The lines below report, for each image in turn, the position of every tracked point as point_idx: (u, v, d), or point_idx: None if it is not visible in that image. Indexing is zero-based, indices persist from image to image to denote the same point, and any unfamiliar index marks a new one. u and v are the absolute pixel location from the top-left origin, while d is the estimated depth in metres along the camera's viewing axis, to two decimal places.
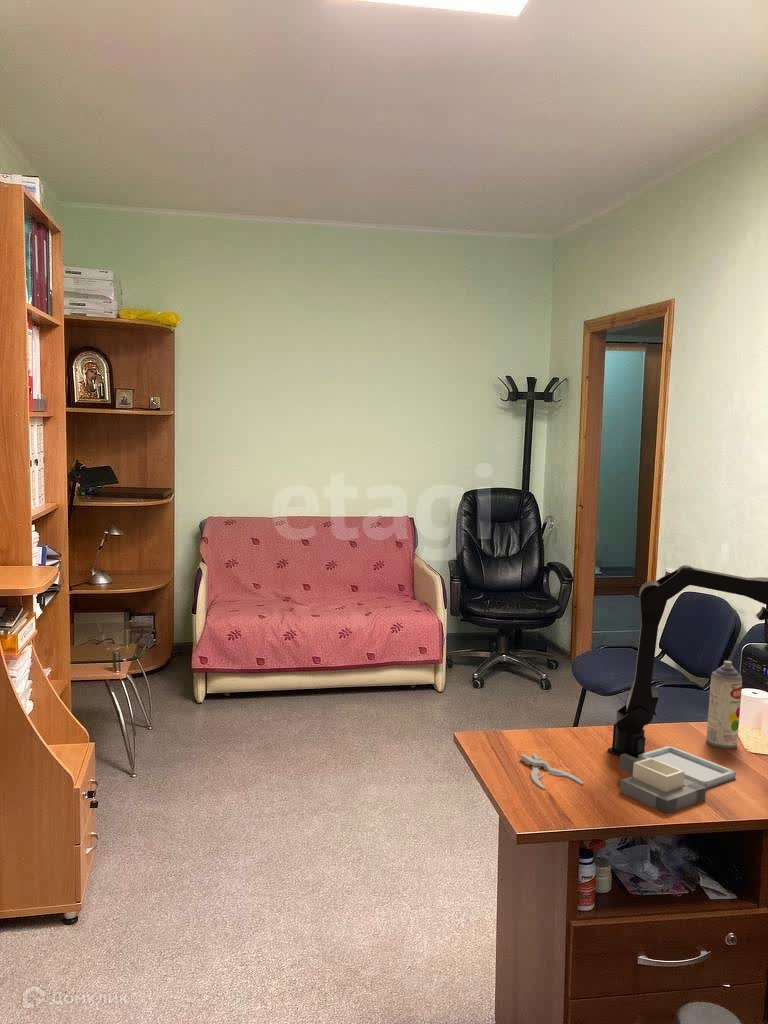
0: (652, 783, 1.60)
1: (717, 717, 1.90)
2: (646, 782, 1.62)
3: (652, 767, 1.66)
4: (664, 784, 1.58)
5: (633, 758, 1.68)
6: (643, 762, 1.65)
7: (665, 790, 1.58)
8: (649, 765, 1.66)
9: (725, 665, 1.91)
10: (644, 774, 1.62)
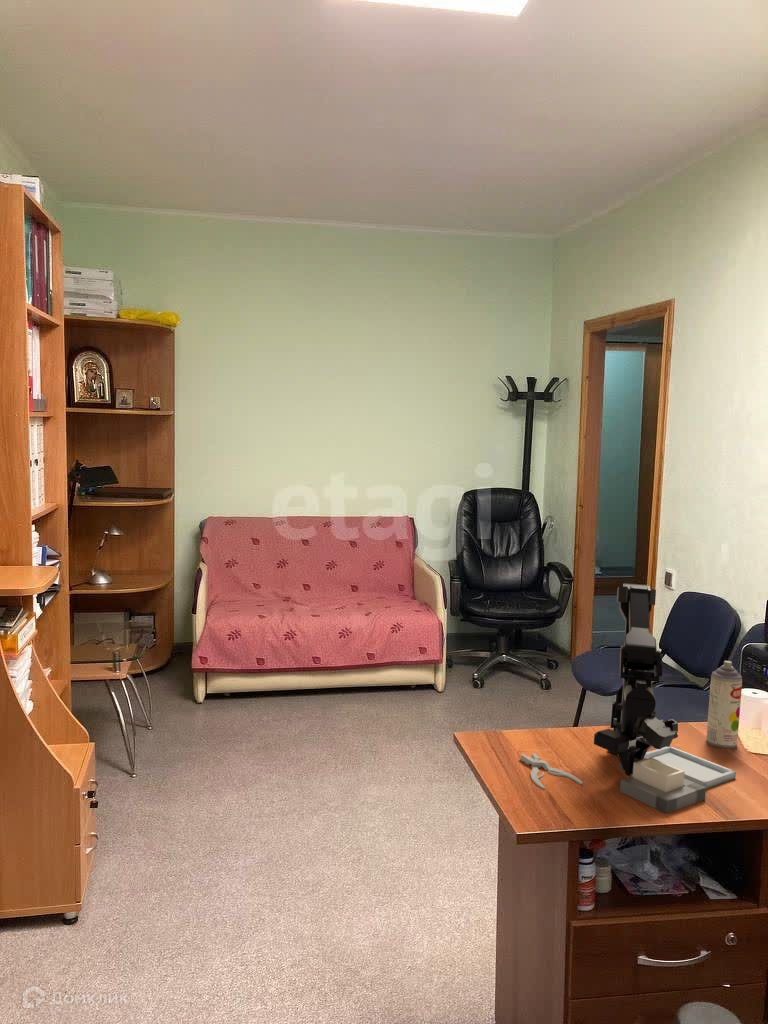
0: (652, 783, 1.60)
1: (717, 717, 1.90)
2: (646, 782, 1.62)
3: (652, 767, 1.66)
4: (664, 784, 1.58)
5: None
6: (643, 762, 1.65)
7: (665, 790, 1.58)
8: (649, 765, 1.66)
9: (725, 665, 1.91)
10: (644, 774, 1.62)
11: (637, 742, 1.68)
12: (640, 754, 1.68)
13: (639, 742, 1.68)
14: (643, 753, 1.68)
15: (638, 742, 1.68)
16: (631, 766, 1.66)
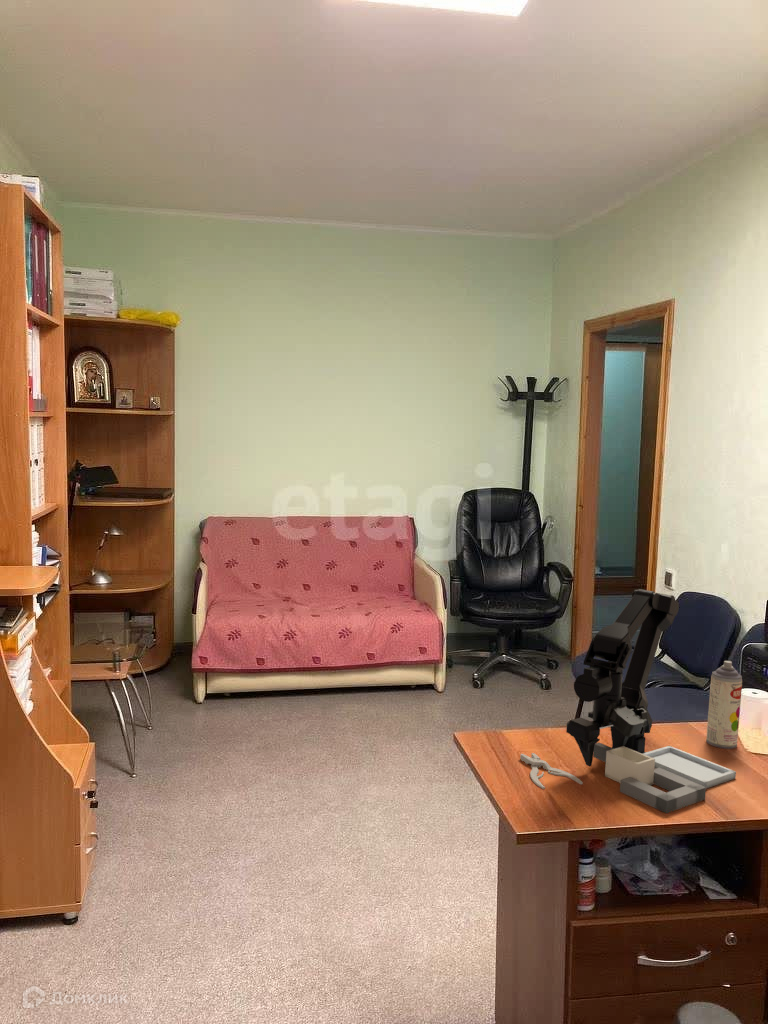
0: (623, 770, 1.66)
1: (717, 717, 1.90)
2: (618, 769, 1.67)
3: (624, 755, 1.72)
4: (635, 771, 1.64)
5: (606, 747, 1.73)
6: (616, 750, 1.71)
7: (636, 777, 1.64)
8: (622, 753, 1.72)
9: (725, 665, 1.90)
10: (616, 762, 1.68)
11: None
12: (622, 739, 1.76)
13: None
14: (625, 738, 1.76)
15: None
16: (591, 757, 1.70)
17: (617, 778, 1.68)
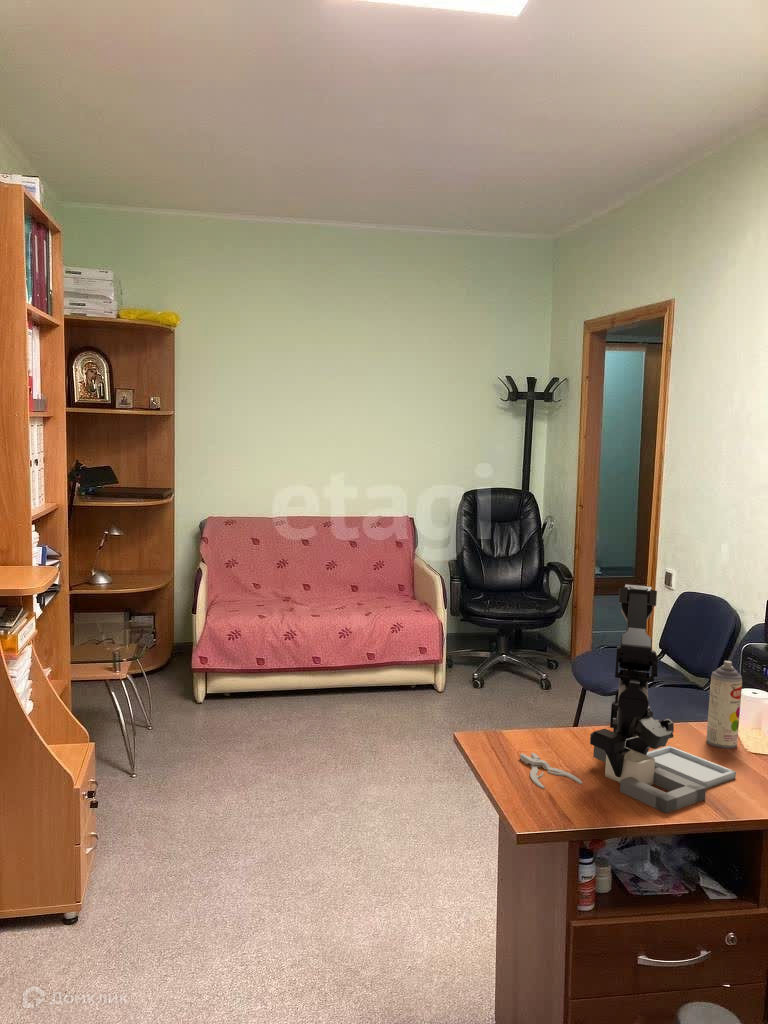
0: (623, 770, 1.66)
1: (717, 717, 1.90)
2: None
3: (624, 755, 1.72)
4: (635, 771, 1.64)
5: None
6: None
7: (636, 777, 1.64)
8: None
9: (725, 665, 1.91)
10: None
11: (639, 740, 1.70)
12: (642, 752, 1.70)
13: (641, 740, 1.70)
14: (645, 751, 1.70)
15: (640, 740, 1.70)
16: (621, 768, 1.66)
17: (617, 778, 1.68)
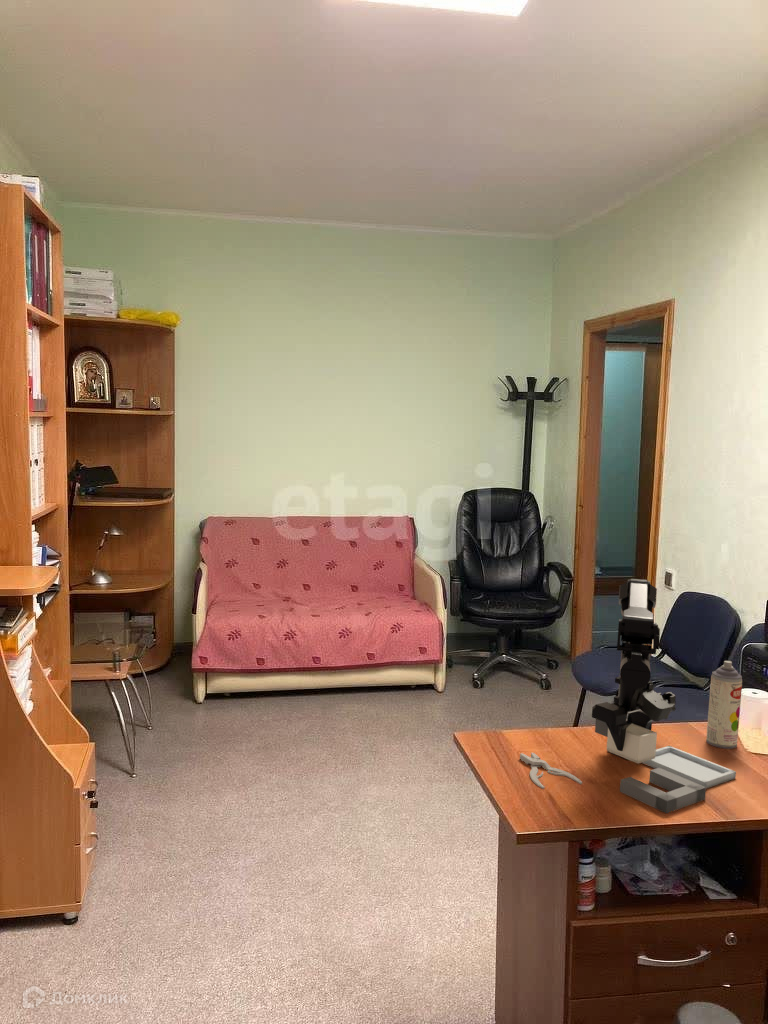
0: (625, 744, 1.66)
1: (717, 717, 1.90)
2: None
3: (626, 730, 1.71)
4: (637, 744, 1.63)
5: None
6: None
7: (638, 750, 1.63)
8: None
9: (725, 665, 1.90)
10: None
11: (641, 714, 1.70)
12: (644, 726, 1.69)
13: (643, 714, 1.69)
14: (647, 725, 1.69)
15: (642, 714, 1.70)
16: (623, 741, 1.65)
17: (619, 752, 1.67)
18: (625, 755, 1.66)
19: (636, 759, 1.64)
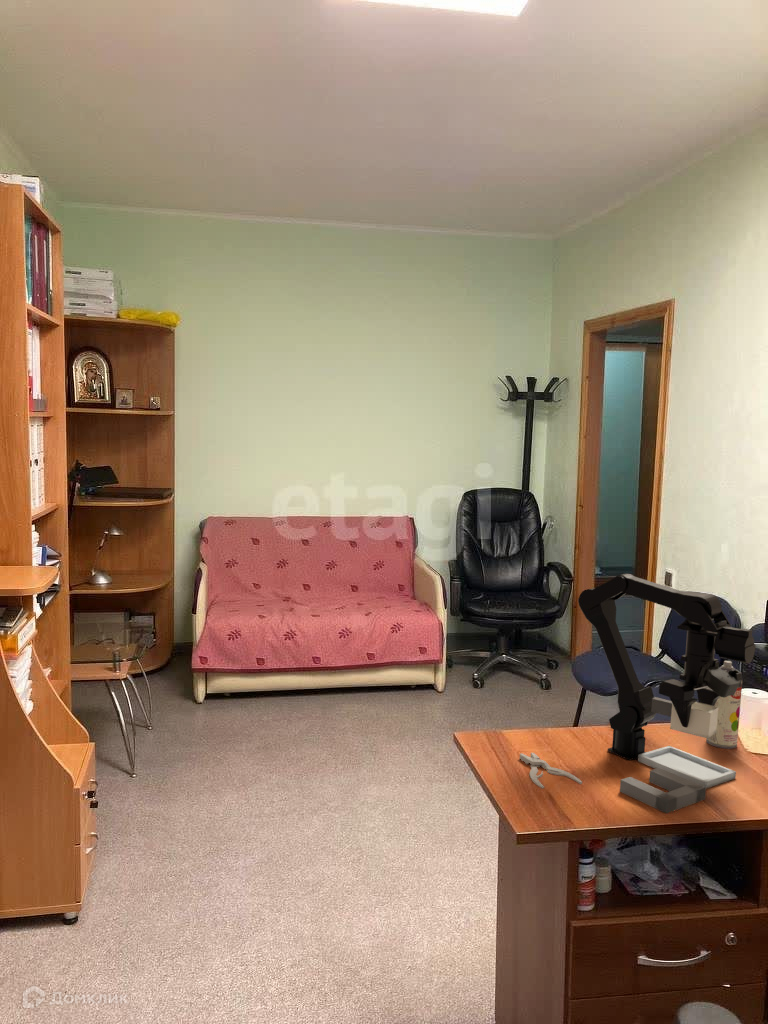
0: (693, 721, 1.70)
1: (717, 717, 1.90)
2: None
3: None
4: (707, 720, 1.68)
5: (665, 700, 1.76)
6: None
7: (708, 726, 1.68)
8: None
9: (725, 665, 1.91)
10: None
11: (707, 691, 1.74)
12: (710, 703, 1.73)
13: (709, 691, 1.74)
14: (713, 702, 1.73)
15: (708, 691, 1.74)
16: (688, 717, 1.69)
17: (685, 729, 1.71)
18: (693, 732, 1.70)
19: (706, 735, 1.68)
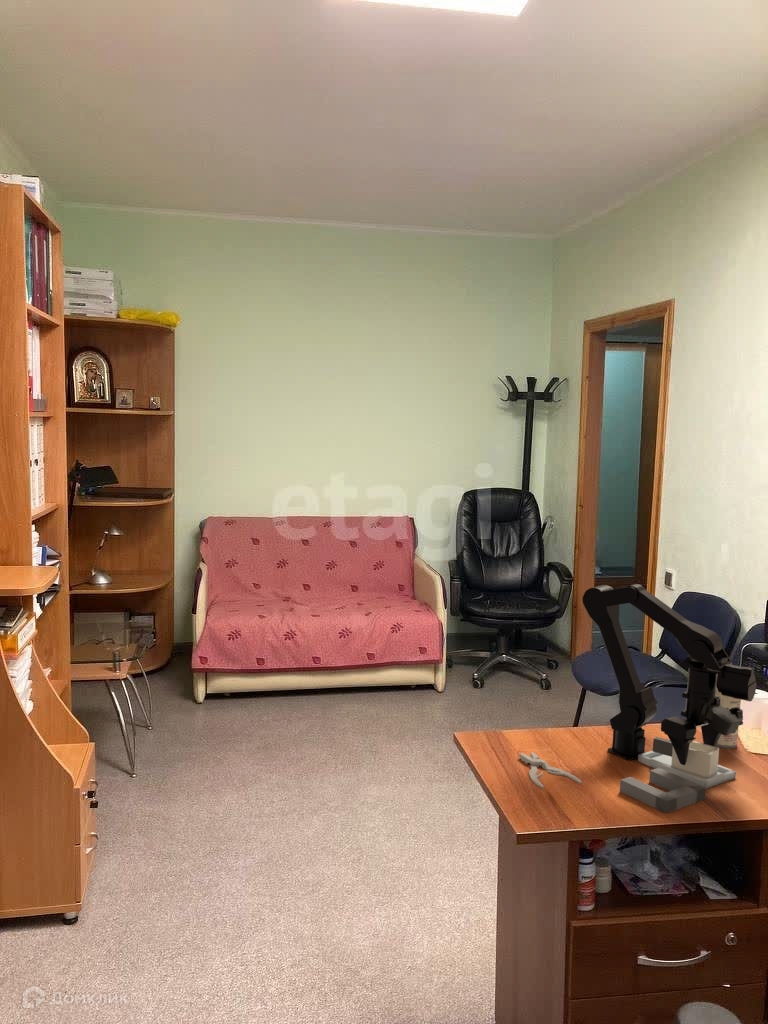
0: (694, 762, 1.71)
1: None
2: (687, 762, 1.72)
3: None
4: (707, 762, 1.69)
5: (667, 740, 1.77)
6: None
7: (709, 767, 1.69)
8: None
9: None
10: None
11: (711, 726, 1.76)
12: (714, 738, 1.75)
13: (713, 726, 1.76)
14: (717, 737, 1.75)
15: (712, 726, 1.76)
16: (686, 755, 1.70)
17: (686, 770, 1.72)
18: (694, 773, 1.71)
19: (706, 776, 1.69)
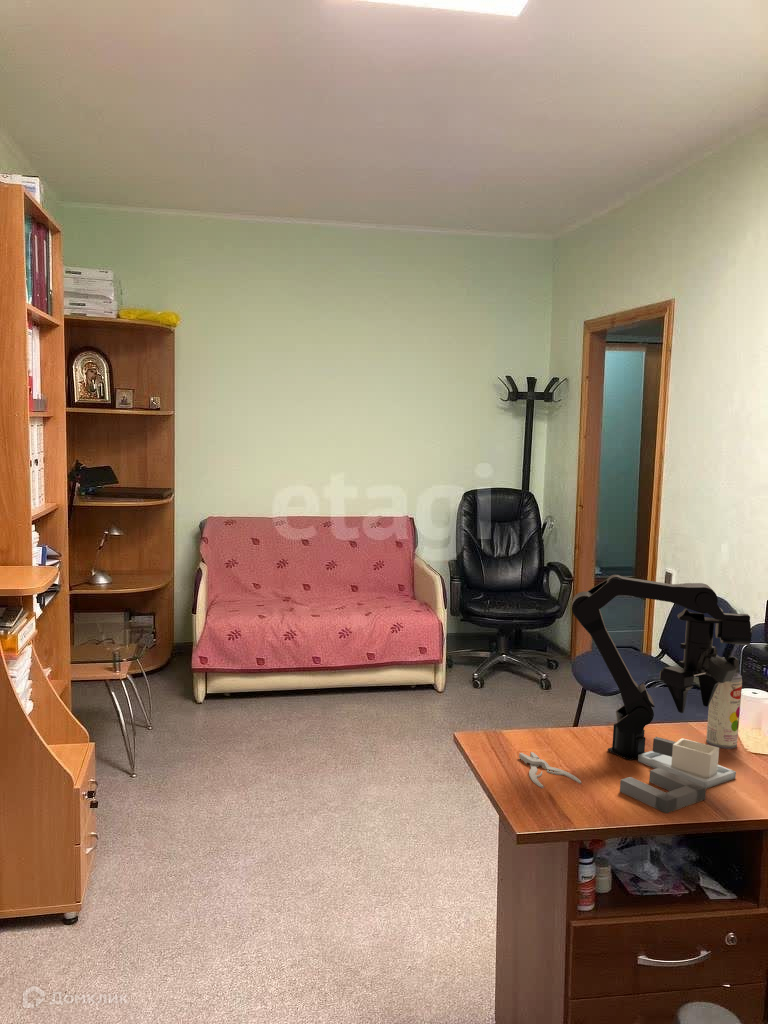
0: (694, 762, 1.71)
1: (717, 717, 1.90)
2: (687, 762, 1.72)
3: (684, 747, 1.77)
4: (707, 762, 1.69)
5: (667, 740, 1.77)
6: (679, 743, 1.75)
7: (709, 767, 1.69)
8: (682, 745, 1.77)
9: None
10: (685, 754, 1.72)
11: (708, 677, 1.82)
12: (712, 688, 1.81)
13: (710, 677, 1.82)
14: (714, 687, 1.81)
15: (709, 677, 1.82)
16: (684, 703, 1.76)
17: (686, 770, 1.72)
18: (694, 773, 1.71)
19: (706, 776, 1.69)
